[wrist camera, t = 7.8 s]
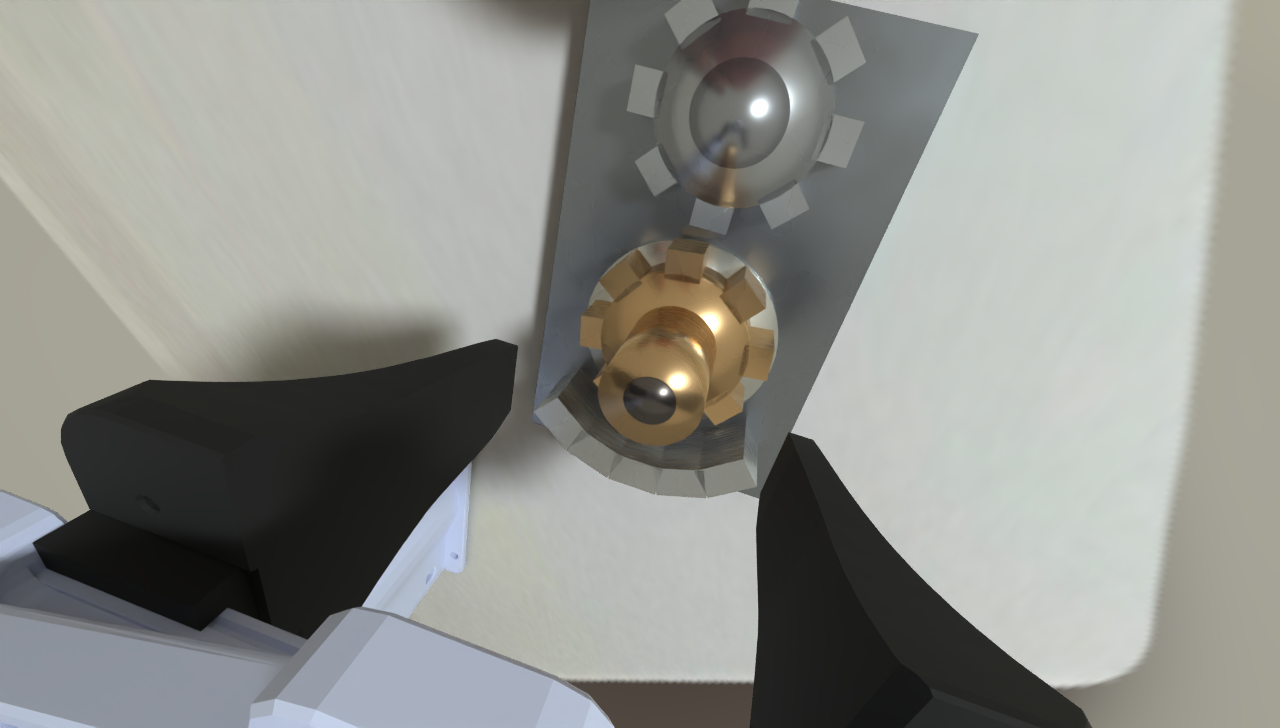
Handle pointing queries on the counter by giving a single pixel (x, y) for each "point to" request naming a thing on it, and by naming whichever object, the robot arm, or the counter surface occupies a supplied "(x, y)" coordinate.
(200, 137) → the counter surface
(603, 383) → the planet gear
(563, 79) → the counter surface
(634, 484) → the ring gear segment
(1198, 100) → the counter surface
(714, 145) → the sun gear
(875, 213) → the carrier plate
